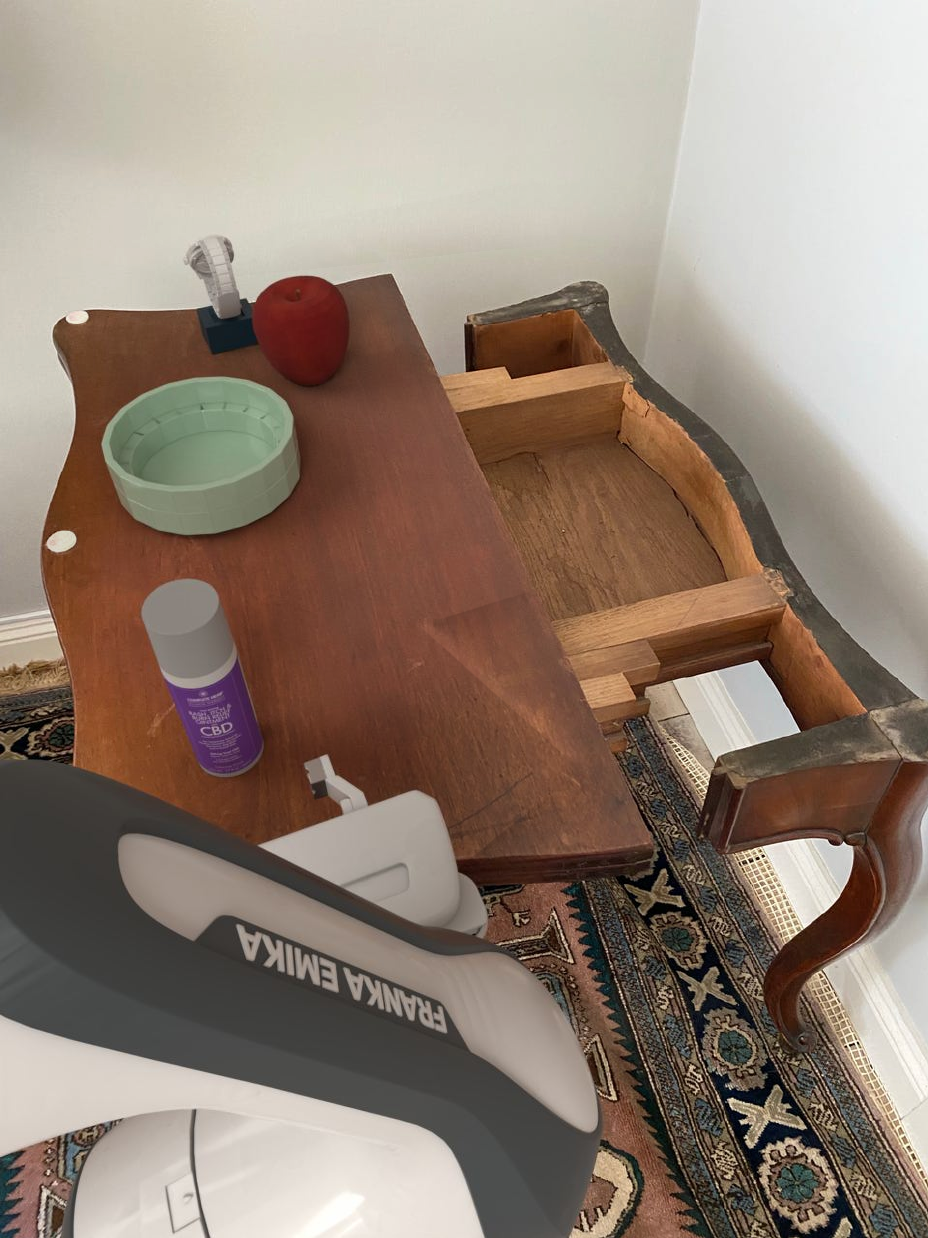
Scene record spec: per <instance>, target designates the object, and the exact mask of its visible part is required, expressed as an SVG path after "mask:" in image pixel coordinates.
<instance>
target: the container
mask: <svg viewBox="0 0 928 1238" xmlns="http://www.w3.org/2000/svg"><path fill="white" fill-rule="evenodd" d="M140 613H141V619H142V622H143V624H144V627H145V629H146V630H145V631H146V633H147V635H148V639H149V641H150V644H151V647H152V649H153V652H154V655H155V657H156V660H157V663H158V665H159V668H160V672H161V675H162V677H163V679H164V682H165V685H166V687H167V690H168V691H169V694H170V697H171V699H172V702H173V705H174V706H175V709H176V711H177V714H178V717H179V719H180V721H181V724H182V726H183V729H184V731H185V733H186V736H187V738H188V741H189V743H190V746H191V748H192V750H193V753H194V755H195V758H196V760H197V762H198V764H199V766H200V768H201V769H202V770H203V771H204V772H206V773H207V774H208V775H211V776H214V777H218V778H233V777H237V776H240V775H242V774H244V773H246V772H247V771H250V769H252V768H253V767H254V766H255V765H256V764H257V763H258V762H259V761H260V759H261V757H262V755H263V752H264V747H265V746H264V745H265V744H264V743H265V741H264V737H263V734H262V730H261V727H260V724H259V720H258V717H257V713H256V711H255V706H254V703H253V700H252V697H251V692H250V690H249V687H248V683H247V679H246V676H245V673H244V670H243V665H242V663H241V659H240V655H239V652H238V649H237V646H236V643H235V640H234V637H233V635H232V631H231V628H230V626H229V622H228V620H227V617H226V614H225V611H224V608H223V605H222V603H221V599H220V596H219V593H218V592H217V590H216V589H215V588H214V587H213V586H212V585H211V584H210V583H208V582H206V581H204V580H200V579H197V578H180V579H175V580H171V581H168V582H166V583H164V584H162V585H160V586H158V587H157V588H155V589H154V590H153V591H152V592H150V594H149V595H147V597H146V598H145V600H144V602H143V604H142V606H141V612H140Z"/></svg>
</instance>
